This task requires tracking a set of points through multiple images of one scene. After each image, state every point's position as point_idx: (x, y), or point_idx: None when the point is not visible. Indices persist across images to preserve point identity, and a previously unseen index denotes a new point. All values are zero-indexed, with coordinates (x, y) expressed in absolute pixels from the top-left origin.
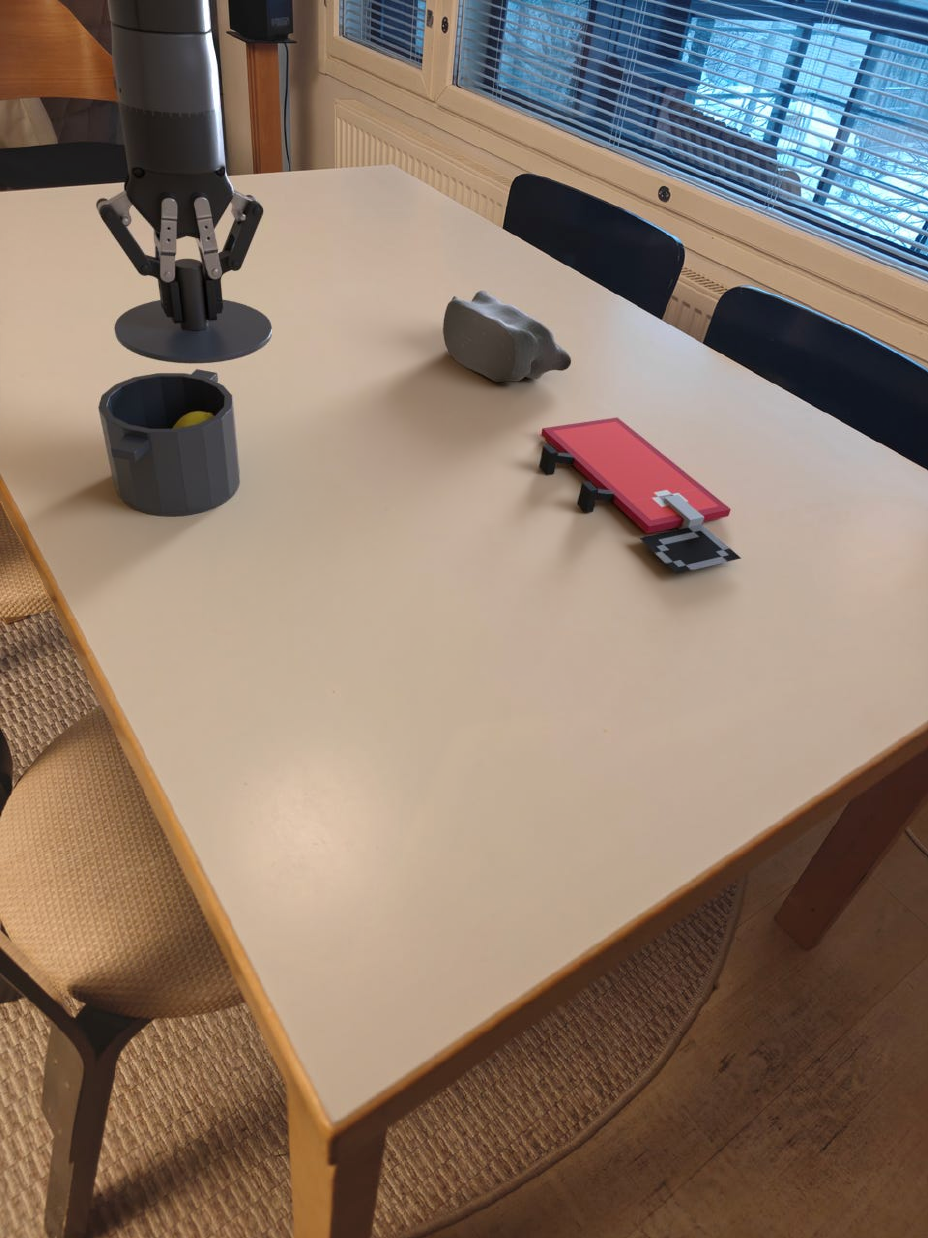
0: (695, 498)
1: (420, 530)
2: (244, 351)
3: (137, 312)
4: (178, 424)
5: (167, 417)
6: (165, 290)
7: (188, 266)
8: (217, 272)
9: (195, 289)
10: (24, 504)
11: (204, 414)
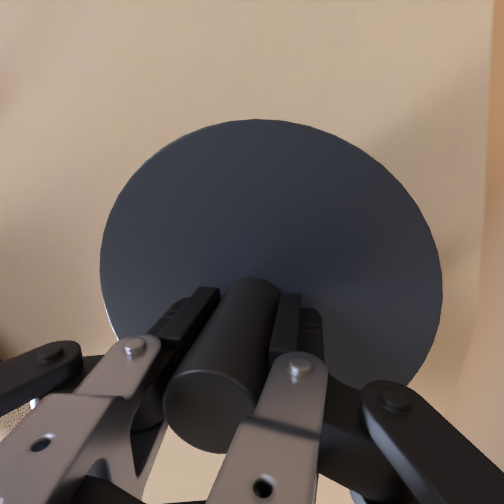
0: None
1: (101, 95)
2: (173, 142)
3: None
4: None
5: None
6: (311, 349)
7: (213, 385)
8: (126, 341)
9: (222, 326)
10: (477, 276)
11: None
